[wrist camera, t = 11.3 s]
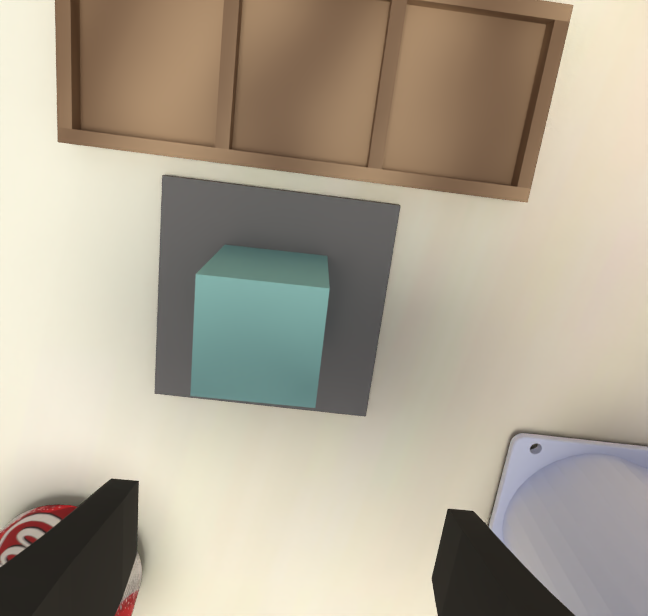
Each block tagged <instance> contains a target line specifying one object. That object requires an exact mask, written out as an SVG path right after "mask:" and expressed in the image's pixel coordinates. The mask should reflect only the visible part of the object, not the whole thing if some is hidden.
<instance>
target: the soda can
mask: <svg viewBox="0 0 648 616" xmlns="http://www.w3.org/2000/svg"><path fill="white" fill-rule="evenodd" d="M76 508H77V507H76V506H71V505H46V506H42V507H37V508H34V509H31V510H28V511H26V512H24V513H22V514H20V515H19V516H17V517H15V518H14V519H13V520H12V521H11V522H9V523H8V524H7V525H6V526H5V527H4V528H3V529H2V530H1V531H0V567H1V566H2V565H4V564H5V563H6V562H8V561H9V560H11V559H12V558H13V557H15V556H16V555H17V554H19V553H20V552H21V551H23V550H24V549H26V548H27V547H28V546H30V545H31V544H32V543H34V542H35V541H36V540H37V539H39V538H40V537H41V536H43V535H44V534H45V533H46V532H48V531H49V530H50V529H51V528H53V527H54V526H55V525H56V524H57V523H59V522H60V521H61V520H62V519H64V518H65V517H66V516H67V515H69V514H70V513H71V512H72V511H73V510H75V509H76ZM141 578H142V565H141V560H140V556H139V554H138V551H137V555H136V559H135V562H134V565H133V568H132V571H131V574H130V577H129V580H128V583H127V586H126V589H125V592H124V595H123V598H122V600H121V603H120V605H119V607H118V609H117V612H116V614H115V616H132V613H133V609H134V605H135V602H136V598H137V595H138V591H139V588H140V584H141Z"/></svg>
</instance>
